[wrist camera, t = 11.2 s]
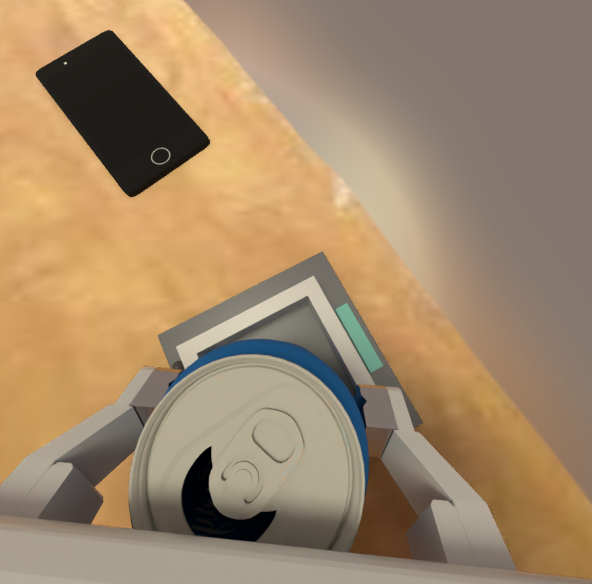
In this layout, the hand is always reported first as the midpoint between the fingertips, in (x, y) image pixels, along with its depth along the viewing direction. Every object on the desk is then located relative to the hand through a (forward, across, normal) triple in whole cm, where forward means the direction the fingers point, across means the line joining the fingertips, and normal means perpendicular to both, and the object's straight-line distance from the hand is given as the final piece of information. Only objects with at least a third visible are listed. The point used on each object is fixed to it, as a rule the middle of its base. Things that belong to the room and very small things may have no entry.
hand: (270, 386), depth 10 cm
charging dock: (+6, 0, +7) cm, 9 cm away
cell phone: (+23, +18, -9) cm, 31 cm away
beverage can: (+5, 0, +7) cm, 9 cm away
